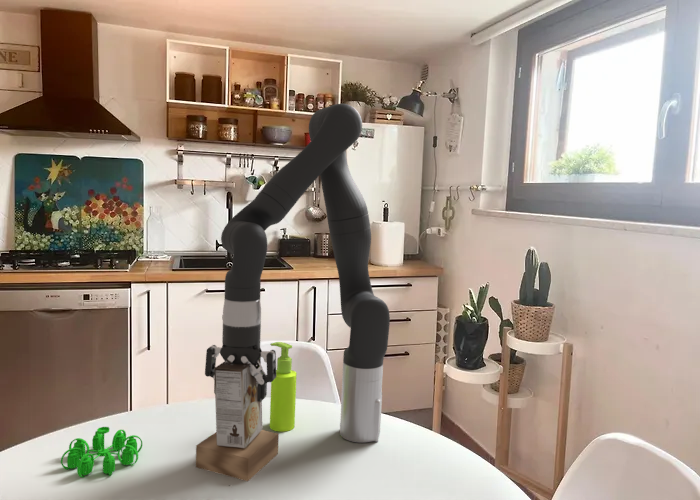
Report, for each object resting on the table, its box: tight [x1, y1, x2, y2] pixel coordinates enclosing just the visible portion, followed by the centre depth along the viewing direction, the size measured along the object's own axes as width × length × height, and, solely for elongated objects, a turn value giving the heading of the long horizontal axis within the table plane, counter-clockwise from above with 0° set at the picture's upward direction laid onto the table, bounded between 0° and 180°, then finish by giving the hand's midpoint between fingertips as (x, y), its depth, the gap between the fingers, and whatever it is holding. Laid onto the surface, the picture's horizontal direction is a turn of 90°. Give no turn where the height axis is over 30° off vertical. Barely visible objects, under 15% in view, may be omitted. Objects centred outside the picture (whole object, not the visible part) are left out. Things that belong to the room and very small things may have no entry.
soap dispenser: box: [269, 341, 297, 433], centre depth 126 cm, size 6×7×20 cm
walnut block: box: [195, 429, 280, 482], centre depth 110 cm, size 12×12×5 cm
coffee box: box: [214, 357, 263, 448], centre depth 109 cm, size 9×6×16 cm
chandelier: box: [60, 426, 143, 478], centre depth 107 cm, size 15×15×7 cm
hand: (240, 398), depth 109 cm, fingers open, 8 cm apart
